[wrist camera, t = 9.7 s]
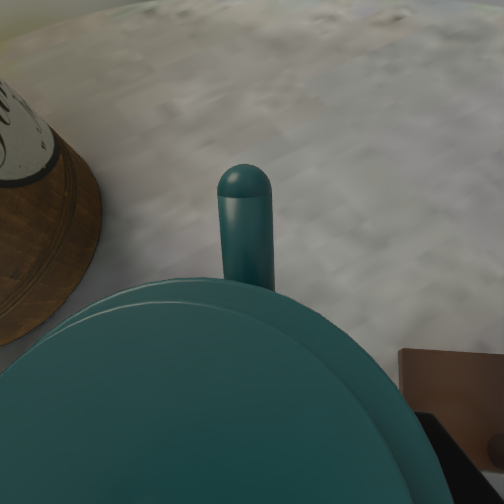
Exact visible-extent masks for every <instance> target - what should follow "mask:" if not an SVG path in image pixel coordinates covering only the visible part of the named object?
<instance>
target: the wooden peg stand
mask: <svg viewBox="0 0 504 504" xmlns="http://www.w3.org/2000/svg"><path fill="white" fill-rule="evenodd" d="M398 364H399V391H400V392H401V394H402V395H403V397H404V398H405V400H406V401H407V403H408V404H409V406H410V407H411V409H412V410H415V411H426V412H431V413H433V414H434V415H435V416H436V418H437V419H438V420H439V421H440V422H441V424H442V425H443V426H444V427H445V429H446V430H447V431H448V432H449V433H450V435H451V436H452V437H453V438H454V440H455V441H456V442H457V443H458V445H459V446H460V447H461V448H462V449H463V451H464V452H465V453H466V454H467V456H468V457H469V458H470V459H471V460H472V462H473V463H474V464H475V465H476V467H480V468H489V469H498V470H504V355H502V354H487V353H471V352H455V351H440V350H424V349H409V348H403V349H401V350H399V351H398Z"/></svg>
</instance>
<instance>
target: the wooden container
mask: <svg viewBox="0 0 504 504" xmlns="http://www.w3.org/2000/svg"><path fill="white" fill-rule="evenodd" d="M100 224H101V200H100V194H99V189H98V186H97V183H96V180H95V178H94V176H93V174H92V172H91V170H90V168H89V167H88V166H87V164H86V163H85V161H84V160H83V159H82V158H81V157H80V156H79V155H78V154H77V153H76V152H75V151H74V150H73V149H72V148H71V147H70V146H69V145H68V144H67V143H66V142H65V141H64V140H63V139H62V138H61V137H60V136H59V135H58V134H57V133H56V132H55V131H54V130H53V129H52V128H51V127H50V126H49V125H48V124H47V123H46V122H45V121H44V120H43V119H42V118H41V117H40V116H39V115H38V114H37V113H36V112H35V111H34V110H33V109H32V108H31V107H30V106H29V105H28V104H27V102H26V101H25V100H24V99H23V98H22V97H21V96H20V95H19V94H17V93H16V92H15V91H14V90H13V89H12V88H11V87H10V86H9V85H8V84H7V83H6V82H5V81H4V80H3V79H2V78H1V77H0V346H1V345H4V344H7V343H9V342H11V341H13V340H15V339H18V338H20V337H21V336H23V335H25V334H27V333H28V332H30V331H31V330H33V329H34V328H36V327H37V326H38V325H40V324H41V323H42V322H44V321H45V320H46V319H47V318H48V317H49V316H51V315H52V314H53V313H54V312H55V311H56V310H57V309H58V308H59V307H60V306H61V305H62V304H63V303H64V302H65V300H66V299H67V298H68V297H69V295H70V294H71V293H72V292H73V290H74V289H75V288H76V286H77V285H78V283H79V281H80V280H81V278H82V276H83V275H84V273H85V271H86V269H87V267H88V265H89V263H90V260H91V258H92V256H93V253H94V250H95V247H96V244H97V240H98V236H99V231H100Z"/></svg>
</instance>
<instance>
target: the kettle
mask: <svg viewBox="0 0 504 504" xmlns="http://www.w3.org/2000/svg"><path fill="white" fill-rule="evenodd" d="M217 196H218V208H219V221H220V234H221V247H222V260H223V273H224V279H216V278H206V277H200V278H174V279H168V280H162V281H156V282H150V283H146V284H142V285H139V286H135V287H132V288H129V289H125V290H122V291H119V292H117V293H114V294H112V295H110V296H108V297H105V298H103V299H101V300H98V301H96V302H94V303H92V304H90V305H88V306H87V307H85V308H83V309H82V310H80V311H78V312H76V313H75V314H73V315H71V316H70V317H68V318H67V319H65V320H64V321H63V322H61V323H60V324H59V325H57V326H56V327H55V328H53V329H52V330H51V331H49V332H48V333H47V334H45V335H44V336H43V337H42V338H41V339H40V340H39V341H37V342H36V343H35V344H34V345H33V346H32V347H31V348H30V349H29V350H28V351H27V352H25V353H24V354H23V355H21V356H20V357H19V358H18V359H17V360H16V361H14V362H13V363H12V364H11V365H10V366H9V367H8V368H7V369H6V370H5V371H4V372H3V373H2V374H1V375H0V504H454V501H453V498H452V495H451V492H450V489H449V487H448V484H447V481H446V479H445V476H444V473H443V471H442V468H441V465H440V462H439V460H438V457H437V455H436V453H435V451H434V449H433V447H432V445H431V443H430V441H429V439H428V437H427V435H426V433H425V431H424V429H423V427H422V425H421V424H420V422H419V420H418V418H417V416H416V415H415V413H414V412H413V410H412V409H411V407H410V406H409V404H408V403H407V401H406V400H405V398H404V397H403V395H402V394H401V392H400V391H399V389H398V388H397V386H396V385H395V384H394V383H393V381H392V380H391V379H390V378H389V377H388V375H387V374H386V373H385V372H384V371H383V370H382V368H381V367H380V366H379V365H378V364H377V362H376V361H375V360H374V359H373V358H372V357H371V356H370V355H369V354H368V353H367V352H366V351H365V350H364V349H363V348H362V347H361V346H359V345H358V344H357V343H356V342H355V341H354V340H353V339H352V338H351V337H350V336H349V335H348V334H347V333H345V332H344V331H343V330H341V329H340V328H338V327H337V326H336V325H334V324H333V323H331V322H330V321H329V320H327V319H326V318H324V317H323V316H322V315H320V314H319V313H317V312H315V311H313V310H312V309H310V308H308V307H306V306H304V305H302V304H300V303H299V302H297V301H295V300H293V299H291V298H289V297H286V296H284V295H281V294H278V293H276V292H275V277H274V244H273V211H272V188H271V183H270V180H269V179H268V177H267V175H266V174H265V173H264V172H263V171H262V170H261V169H259V168H258V167H255V166H253V165H249V164H239V165H236V166H233V167H232V168H230V169H228V170H227V171H226V172H225V173H224V174H223V176H222V177H221V179H220V181H219V184H218V189H217ZM477 468H478V469H479V470H480V472H481V473H482V474H483V475H484V476H485V478H486V479H487V480H488V481H489V483H490V484H491V485H492V486H493V487H494V489H495V490H496V491H497V492H498V494H499V495H500V496H501V497H502V498H503V500H504V470H498V469H489V468H480V467H477Z"/></svg>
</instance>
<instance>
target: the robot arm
mask: <svg viewBox="0 0 504 504" xmlns="http://www.w3.org/2000/svg"><path fill="white" fill-rule="evenodd" d="M413 412H414V413H415V415H416V416H417V418H418V420H419V422H420V424H421V425H422V427H423V429H424V431H425V433H426V435H427V437H428V439H429V441H430V443H431V445H432V447H433V449H434V451H435V453H436V455H437V457H438V460H439V462H440V465H441V468H442V471H443V473H444V476H445V479H446V481H447V484H448V487H449V489H450V492H451V495H452V498H453V501H454V504H504V500H503V498H502V497H501V496H500V495H499V494H498V492H497V491H496V490H495V489H494V487H493V486H492V485H491V484H490V483H489V481H488V480H487V479H486V478H485V476H484V475H483V474H482V473H481V472H480V470H479V469H478V468H477V467H476V465H475V464H474V463H473V462H472V460H471V459H470V458H469V457H468V456H467V454H466V453H465V452H464V451H463V449H462V448H461V447H460V446H459V445H458V443H457V442H456V441H455V440H454V438H453V437H452V436H451V435H450V433H449V432H448V431H447V430H446V429H445V427H444V426H443V425H442V424H441V422H440V421H439V420H438V419H437V418H436V416H435V415H434V414H433V413H431V412H426V411H415V410H413Z"/></svg>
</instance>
